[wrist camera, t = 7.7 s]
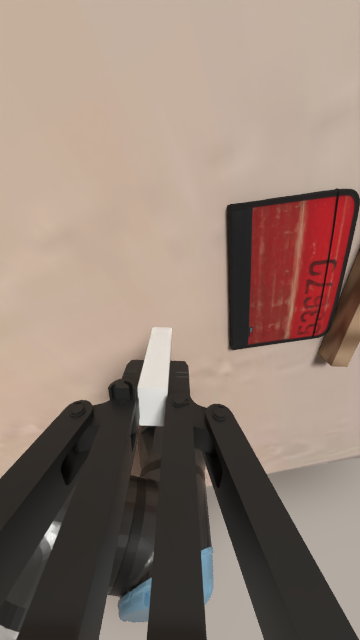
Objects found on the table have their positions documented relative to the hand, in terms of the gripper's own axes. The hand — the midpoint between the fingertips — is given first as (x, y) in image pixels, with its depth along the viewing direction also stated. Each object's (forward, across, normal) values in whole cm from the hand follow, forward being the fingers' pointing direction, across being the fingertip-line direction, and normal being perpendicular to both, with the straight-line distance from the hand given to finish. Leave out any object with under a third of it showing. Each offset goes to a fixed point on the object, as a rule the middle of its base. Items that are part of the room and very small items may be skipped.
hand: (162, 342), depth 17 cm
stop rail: (+15, -27, -1) cm, 31 cm away
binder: (+16, -16, -2) cm, 23 cm away
